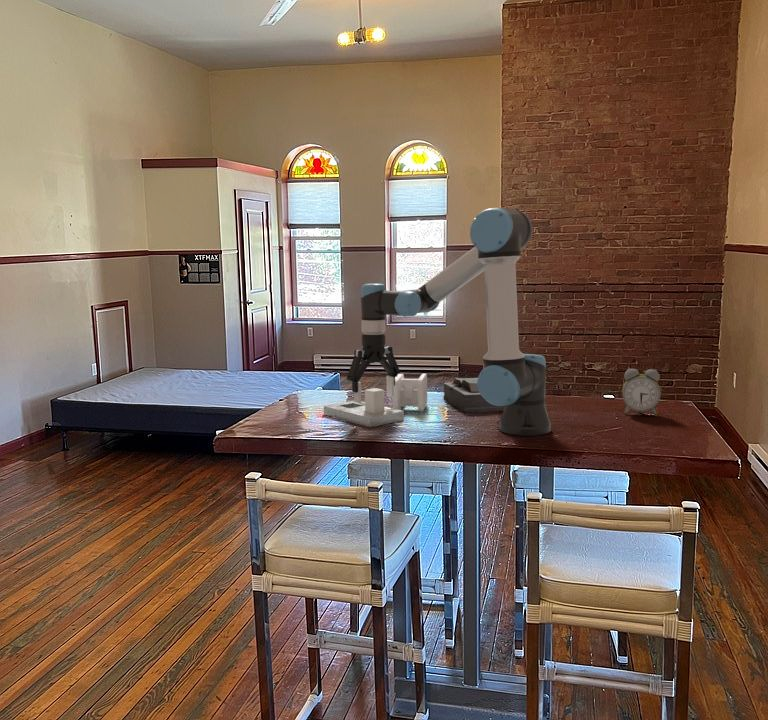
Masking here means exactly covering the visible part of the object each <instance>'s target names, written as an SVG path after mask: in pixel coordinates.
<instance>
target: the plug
mask: <svg viewBox="0 0 768 720" xmlns="http://www.w3.org/2000/svg"><path fill="white" fill-rule="evenodd" d="M364 402H365V412H367V413H371V414H377V413H382V412H385V408H384V406H385V389H381V388H378V387H377V388H376V387H373V388H368V389H364Z"/></svg>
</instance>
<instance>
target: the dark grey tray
mask: <svg viewBox="0 0 768 720" xmlns="http://www.w3.org/2000/svg"><path fill="white" fill-rule="evenodd" d="M477 380H478V377H470V378H469V377H468V378H465V377H463V378H462V377H454V380H453V381H452V382H443V392H444V393H443V396H442V397H443V400H444V401H446V402H448V403H450V405H452V406H454V407H455V408H457V409H459V411H461V412H463V413H469V414H471V413H482V412H483V413H485V412H500V411H502V412H503V410H504V407H505V405H504V406H496V405H492V404H490V403H489V402H487V401H486V400H485V399H484V398H483V397H482V396H481V394H480V392H479V390H478V386H477Z"/></svg>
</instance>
